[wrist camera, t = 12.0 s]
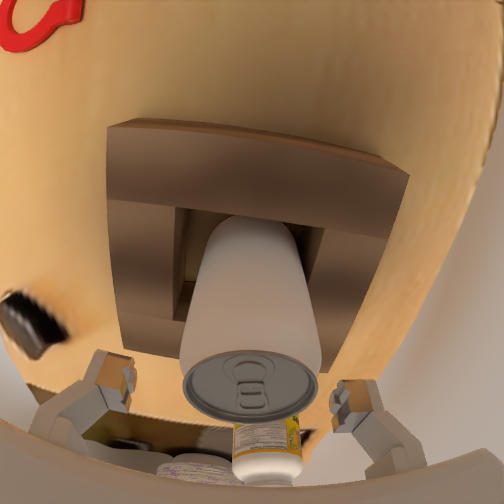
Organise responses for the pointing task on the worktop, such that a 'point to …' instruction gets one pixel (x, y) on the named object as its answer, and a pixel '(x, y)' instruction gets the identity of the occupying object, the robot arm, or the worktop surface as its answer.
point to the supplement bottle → (267, 453)
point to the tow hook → (57, 15)
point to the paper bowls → (200, 469)
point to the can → (250, 327)
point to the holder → (244, 204)
